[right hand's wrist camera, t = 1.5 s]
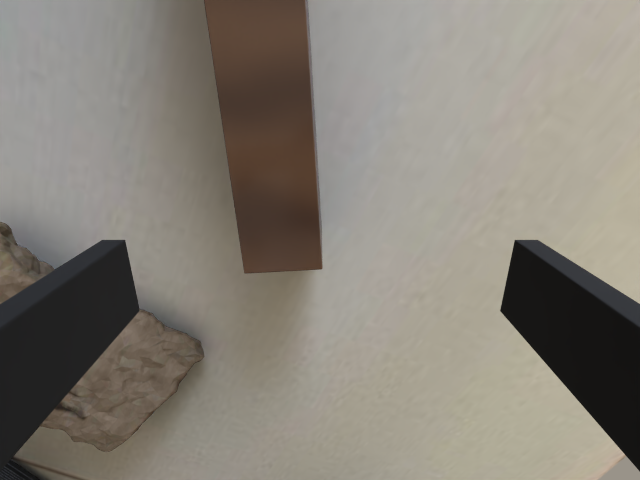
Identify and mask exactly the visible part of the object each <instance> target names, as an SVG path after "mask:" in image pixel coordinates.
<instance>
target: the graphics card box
mask: <svg viewBox="0 0 640 480" xmlns="http://www.w3.org/2000/svg"><path fill="white" fill-rule="evenodd" d="M0 480H40V479H38V478H36V477H35V476H33V475H32V474H30V473H29V472H28V471H26V470H25V469H23V468H22V467H21V466H19V465H18V464H16V463H14V462H13V461H11V460H10V461H9V462H8V463H7V464H6V465H5V466H4V468H3V469H2V470H1V471H0Z"/></svg>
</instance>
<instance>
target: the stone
mask: <svg viewBox="0 0 640 480" xmlns="http://www.w3.org/2000/svg"><path fill="white" fill-rule="evenodd" d="M54 270H55V269H54V268H53V267H52V266H50V265H49V264H47V263H45V262H40V261H39V260H38V259H37V258H36V256H35V255H33V254H32V253H31V252H30V251H29V250H28V249H27V248H23V247H20V246H18V245H17V243H16V241H15V239H14V236H13V234H12V231H11V228H10V227H9V226H8V225H7V224H5V223H2V222H0V304H1V303H3V302H4V301H6V300H8V299H9V298H11V297H12V296H14V295H16V294H17V293H19V292H20V291H22V290H24V289H25V288H27V287H28V286H30V285H31V284H33V283H35V282H36V281H38V280H39V279H41V278H43V277H44V276H46V275H47V274H49V273H51V272H52V271H54ZM139 310H140V309H139ZM203 357H204V352H203V349H202V346H201V342H200V341H199V340H196V339H194V338H192V337H190V336H189V335H188V334H187V333H182V332H180V331H177V330H175V329H172V328H169V327H167V326H165V325H164V324H163V323H162V322H160V321H159V320H157V319H156V318H155V316H154V315H153V313H149V312H147V311H144V310H140V311H139V312H138V313H137V315H136V316H135V317H134V318H133V319H132V320H131V321H130V323H129V324H128V325H127V326H126V327H125V328H124V329H123V331H122V332H121V333H120V334H119V335H118V336H117V338H116V339H115V340H114V341H113V342H112V343H111V344H110V346H109V347H108V348H107V349H106V350H105V351H104V352H103V354H102V355H101V356H100V357H99V358H98V359H97V361H96V362H95V363H94V364H93V365H92V366H91V367H90V369H89V370H88V371H87V372H86V373H85V374H84V375H83V377H82V378H81V379H80V380H79V381H78V382H77V384H76V385H75V386H74V387H73V388H72V389H71V390H70V392H69V393H68V394H67V395H66V396H65V397H64V399H63V400H62V401H61V402H60V403H59V404H58V405H57V407H56V408H55V409H54V410H53V411H52V412H51V413H50V415H49V416H48V417H47V418H46V419H45V420H44V422H43V423H42V424H41V425H40V426H42V427H47V428H52V429H61V430H64V431H66V433H67V434H68V435H69V436H70V437H71V438H72V440H73V441H74V442H86V443H89V444H93V445H95V447H96V448H97V449H99V450H101V451H104V452H109V451H111V450H113V449H115V448H116V447H117V446H119V445H121V444H122V443H124V442H125V441H126V440H127V439H128V438H129V437H130V436H131V435H132V434H134V433H135V432H136V431H137V430H138V429H139V427H140V426H141V424H142V423H143V422H144V421H145V420H146V419H148V418H149V417H150V416H151V415H152V414H153V413H154V411H155V410H156V409H157V408H158V407H159V406H161V405H162V404H163V403H164V402H165V401H166V400H167V399H168V398H169V397H170V396H172V395H173V394H174V393H175V392H177V389H178V386H179V383H180V382H181V380H182V379H183V378H184V377H185V376H186V374H187V372H188V371H189V370H190V368H191V367H192V366H193V364H194V363H196V362H199V361H200V360H201V359H202V358H203Z"/></svg>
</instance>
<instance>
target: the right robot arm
mask: <svg viewBox="0 0 640 480" xmlns="http://www.w3.org/2000/svg"><path fill="white" fill-rule="evenodd" d="M139 311H140V310H139V305H138V300H137V296H136V291H135V286H134V281H133V276H132V271H131V266H130V262H129V257H128V252H127V247H126V242H125V240H102V241H100V242H98V243H97V244H95V245H94V246H92V247H90V248H89V249H87V250H86V251H84V252H82V253H81V254H79V255H78V256H76V257H75V258H73V259H71V260H70V261H68V262H67V263H65V264H63V265H62V266H60V267H59V268H57V269H55V270H54V271H52V272H51V273H49V274H47V275H46V276H44V277H43V278H41V279H39V280H38V281H36V282H35V283H33V284H31V285H30V286H28V287H27V288H25V289H24V290H22V291H20V292H19V293H17V294H16V295H14V296H12V297H11V298H9V299H8V300H6V301H4V302H3V303H1V304H0V471H1V470H2V469H3V468H4V466H5V465H6V464H7V463H8V462H9V461H10V459H11V458H12V457H13V456H14V455H15V454H16V453H17V451H18V450H19V449H20V448H21V447H22V446H23V445H24V443H25V442H26V441H27V440H28V439H29V438H30V436H31V435H32V434H33V433H34V432H35V431H36V430H37V428H38V427H39V426H40V425H41V424H42V423H43V422H44V420H45V419H46V418H47V417H48V416H49V415H50V413H51V412H52V411H53V410H54V409H55V408H56V407H57V405H58V404H59V403H60V402H61V401H62V400H63V399H64V397H65V396H66V395H67V394H68V393H69V392H70V390H71V389H72V388H73V387H74V386H75V385H76V384H77V382H78V381H79V380H80V379H81V378H82V377H83V375H84V374H85V373H86V372H87V371H88V370H89V369H90V367H91V366H92V365H93V364H94V363H95V362H96V361H97V359H98V358H99V357H100V356H101V355H102V354H103V352H104V351H105V350H106V349H107V348H108V347H109V346H110V344H111V343H112V342H113V341H114V340H115V339H116V338H117V336H118V335H119V334H120V333H121V332H122V331H123V329H124V328H125V327H126V326H127V325H128V324H129V323H130V321H131V320H132V319H133V318H134V317H135V316H136V315H137V313H138V312H139ZM500 311H501V312H502V313H503V315H504V316H505V317H506V318H507V319H508V320H509V321H510V323H511V324H512V325H513V326H514V327H515V328H516V329H517V331H518V332H519V333H520V334H521V335H522V336H523V338H524V339H525V340H526V341H527V342H528V343H529V344H530V346H531V347H532V348H533V349H534V350H535V351H536V352H537V354H538V355H539V356H540V357H541V358H542V359H543V361H544V362H545V363H546V364H547V365H548V366H549V367H550V369H551V370H552V371H553V372H554V373H555V374H556V375H557V377H558V378H559V379H560V380H561V381H562V382H563V384H564V385H565V386H566V387H567V388H568V389H569V390H570V392H571V393H572V394H573V395H574V396H575V397H576V399H577V400H578V401H579V402H580V403H581V404H582V405H583V407H584V408H585V409H586V410H587V411H588V412H589V413H590V415H591V416H592V417H593V418H594V419H595V420H596V422H597V423H598V424H599V425H600V426H601V427H602V428H603V430H604V431H605V432H606V433H607V434H608V435H609V436H610V438H611V439H612V440H613V441H614V442H615V443H616V445H617V446H618V447H619V448H620V449H621V450H622V451H623V453H624V454H625V455H626V456H627V457H628V458H629V459H630V461H631V462H632V463H633V464H634V465H635V466H636V467H637V469H638V470H639V471H640V304H639V303H637V302H636V301H634V300H632V299H631V298H629V297H628V296H626V295H624V294H623V293H621V292H620V291H618V290H616V289H615V288H613V287H612V286H610V285H609V284H607V283H605V282H604V281H602V280H601V279H599V278H597V277H596V276H594V275H593V274H591V273H589V272H588V271H586V270H585V269H583V268H581V267H580V266H578V265H577V264H575V263H573V262H572V261H570V260H569V259H567V258H565V257H564V256H562V255H561V254H559V253H558V252H556V251H554V250H553V249H551V248H550V247H548V246H546V245H545V244H543V243H542V242H540V241H538V240H515V242H514V247H513V252H512V257H511V262H510V266H509V271H508V276H507V281H506V286H505V291H504V295H503V300H502V305H501V310H500Z"/></svg>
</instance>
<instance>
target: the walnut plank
mask: <svg viewBox="0 0 640 480" xmlns="http://www.w3.org/2000/svg"><path fill="white" fill-rule="evenodd" d="M204 3H205V9H206V16H207V23H208V30H209V37H210V43H211V50H212V57H213V64H214V70H215V77H216V84H217V91H218V97H219V104H220V111H221V118H222V125H223V131H224V138H225V145H226V152H227V158H228V165H229V172H230V179H231V185H232V192H233V199H234V206H235V213H236V219H237V226H238V233H239V240H240V246H241V253H242V260H243V267H244V273H262V272H281V271H299V270H317V269H322V225H321V209H320V192H319V176H318V159H317V143H316V127H315V110H314V94H313V78H312V61H311V45H310V29H309V12H308V0H204Z"/></svg>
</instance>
